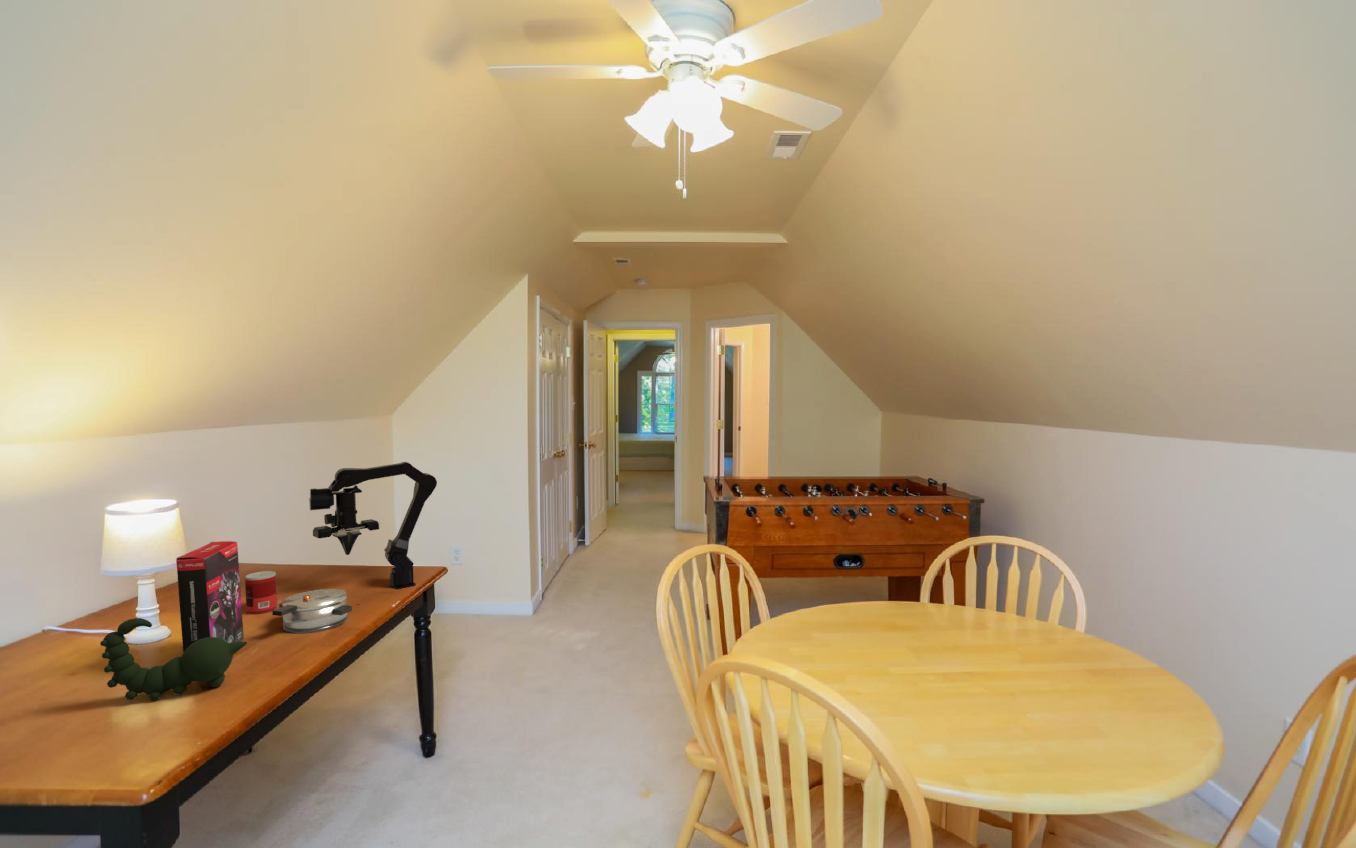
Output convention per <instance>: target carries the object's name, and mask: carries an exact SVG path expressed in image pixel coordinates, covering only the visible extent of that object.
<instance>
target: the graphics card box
mask: <svg viewBox="0 0 1356 848" xmlns="http://www.w3.org/2000/svg"><path fill="white" fill-rule="evenodd" d="M238 548H239V547H238V542H237V541H233V540H231V541H230V540H226V541H223V540H222V541H210V542H209V543H208V544H206V545H202V546H200V547H198V548H195V549H193V550H191V551H190V552H188V553H185V554H182V555H180V556H177V557H176V561H175V562H176V572H177V573H176V574H177V584H178V585H177V586H178V587H177V588H178V599H179V600H178V602H179V614H180V615H179V616H180V626H181V629H180V630H181V640H182V641H181V643H182V651H183V652H182V654H183V653H184V651H185V650H186V649H187V648H188V647H189V646H190V645H191V644H193V643H194V642H196V641H198V640H200V639H203V638H207V637H216V638H220V639H223V640H225V641H226V642H227V643H235V642H243V641H244V640H245V637H244V636H245V635H244V621H243V606H242V593H241V591H242V590H241V577H240V564H239V551H238Z"/></svg>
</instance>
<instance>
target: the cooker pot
mask: <svg viewBox="0 0 1356 848" xmlns="http://www.w3.org/2000/svg"><path fill="white" fill-rule="evenodd" d="M281 607H283V606H282V602H281V603H279V604H278V608H281ZM352 611H353V606H352V605H348V602H347V598H346V600H345V601H343V602H341V603H339V604H337V605H334V606H331V607H327V608H323V609H317V610H310V611H293V612H291V613H288V614H286V615H283V616H282V629H283V631H284V632H286V633H289V634H311V633H318V632H319V633H320V632H322V631H327V629H328V630H331V629H334V628H336V626H337V627H339V626H341V625H343V624H345V623H346V622H347V621H348V617H349V616H348V613H350V612H352ZM346 620H347V621H346ZM345 621H346V622H345ZM344 622H345V623H344ZM340 624H341V625H340ZM338 625H339V626H338ZM330 628H331V629H330Z"/></svg>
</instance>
